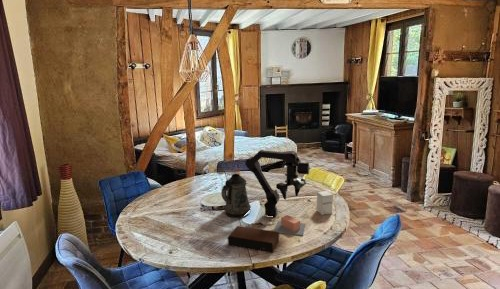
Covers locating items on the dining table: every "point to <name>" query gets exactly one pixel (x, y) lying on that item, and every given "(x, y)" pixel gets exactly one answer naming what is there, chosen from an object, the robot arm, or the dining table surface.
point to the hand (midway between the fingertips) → (290, 197)
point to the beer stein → (235, 197)
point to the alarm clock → (253, 239)
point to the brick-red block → (290, 223)
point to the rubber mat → (284, 230)
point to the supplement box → (324, 202)
